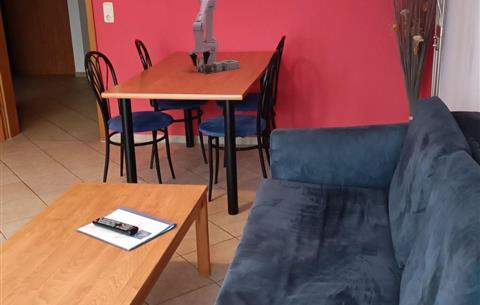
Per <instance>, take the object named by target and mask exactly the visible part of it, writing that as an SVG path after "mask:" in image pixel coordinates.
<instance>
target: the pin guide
mask: <svg viewBox="0 0 480 305" xmlns="http://www.w3.org/2000/svg"><path fill="white" fill-rule="evenodd" d="M219 62H220V61H218V62H217V61H216V62H214V63H212V65H211V66H212V68H213V67H216V71H221V70H223V68H222V63H219Z"/></svg>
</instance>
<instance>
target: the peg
mask: <svg viewBox="0 0 480 305" xmlns="http://www.w3.org/2000/svg"><path fill="white" fill-rule="evenodd" d="M196 67H197V68H196V70H198V71H204V69H205V65H204V58H203V57H202V56H197V66H196Z"/></svg>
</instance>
